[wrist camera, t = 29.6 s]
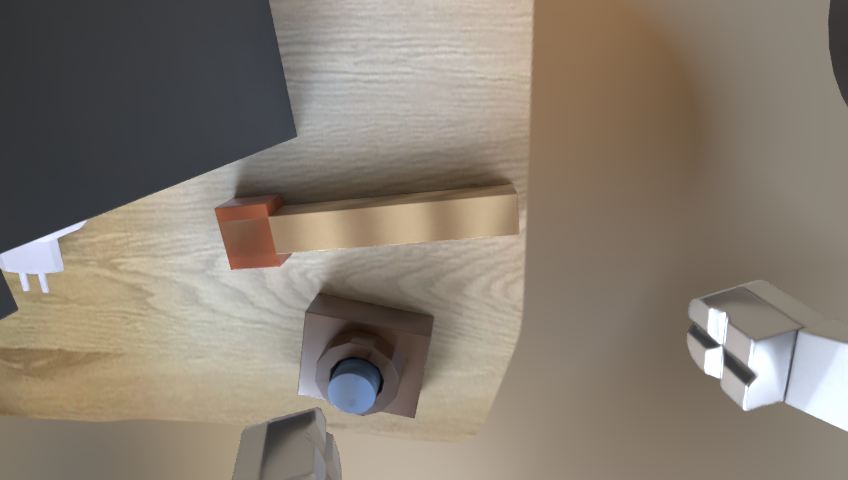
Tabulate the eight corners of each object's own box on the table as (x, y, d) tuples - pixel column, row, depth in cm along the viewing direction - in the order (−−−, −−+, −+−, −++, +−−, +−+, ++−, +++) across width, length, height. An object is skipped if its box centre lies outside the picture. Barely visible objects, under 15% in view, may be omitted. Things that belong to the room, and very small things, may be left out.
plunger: (383, 362, 37) (378, 378, 35) (377, 400, 38) (372, 418, 36) (337, 353, 37) (329, 368, 35) (332, 391, 38) (325, 408, 36)
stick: (512, 170, 36) (516, 179, 33) (516, 234, 37) (520, 248, 34) (233, 198, 38) (214, 208, 36) (247, 256, 40) (231, 270, 37)
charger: (11, 274, 43) (-36, 99, 38) (109, 283, 42) (75, 106, 37) (-42, 298, 39) (-104, 104, 33) (66, 309, 38) (21, 112, 33)
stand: (268, -37, 32) (-349, -346, 8) (307, 156, 37) (-21, 332, 12) (120, -11, 34) (-778, -208, 10) (174, 171, 38) (-354, 355, 14)
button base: (434, 316, 40) (429, 349, 36) (418, 394, 43) (411, 434, 38) (317, 293, 41) (297, 322, 36) (309, 371, 43) (289, 408, 39)
